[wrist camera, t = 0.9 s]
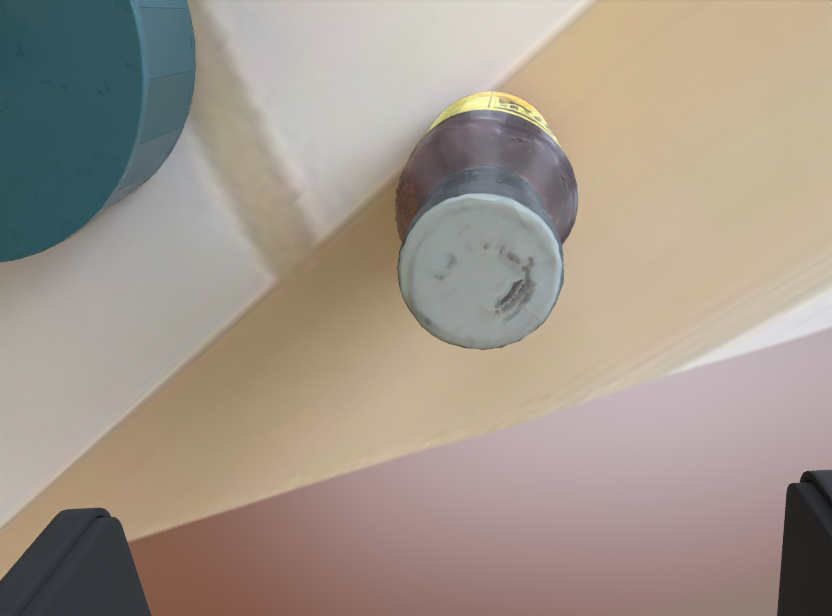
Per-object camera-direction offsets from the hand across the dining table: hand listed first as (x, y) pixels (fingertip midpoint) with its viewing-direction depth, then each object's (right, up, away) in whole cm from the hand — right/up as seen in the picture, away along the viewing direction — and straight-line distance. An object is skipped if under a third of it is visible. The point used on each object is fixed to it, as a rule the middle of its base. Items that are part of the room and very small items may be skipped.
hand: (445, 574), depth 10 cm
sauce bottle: (+3, +12, +26) cm, 28 cm away
